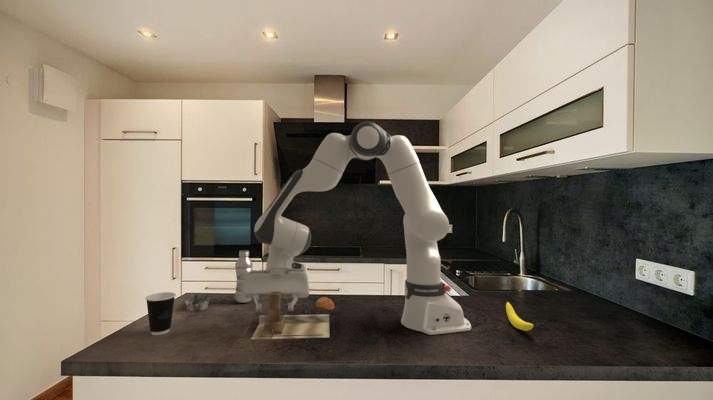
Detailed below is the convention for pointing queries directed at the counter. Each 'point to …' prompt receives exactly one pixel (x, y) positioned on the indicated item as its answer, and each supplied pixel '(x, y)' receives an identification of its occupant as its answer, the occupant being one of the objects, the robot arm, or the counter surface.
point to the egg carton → (197, 302)
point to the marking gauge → (274, 315)
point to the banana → (517, 319)
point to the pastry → (324, 303)
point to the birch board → (297, 327)
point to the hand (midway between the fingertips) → (274, 310)
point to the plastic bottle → (242, 275)
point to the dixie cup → (160, 312)
